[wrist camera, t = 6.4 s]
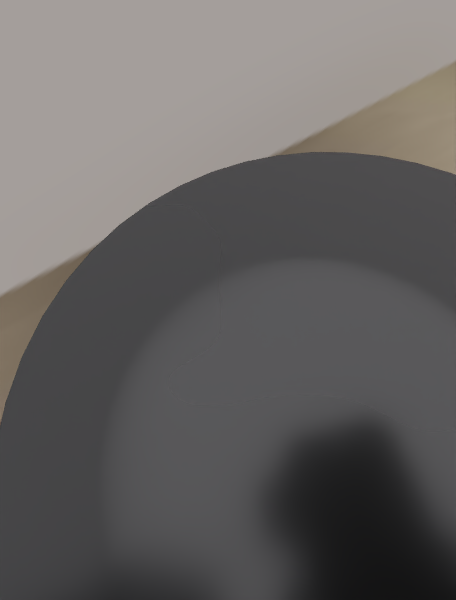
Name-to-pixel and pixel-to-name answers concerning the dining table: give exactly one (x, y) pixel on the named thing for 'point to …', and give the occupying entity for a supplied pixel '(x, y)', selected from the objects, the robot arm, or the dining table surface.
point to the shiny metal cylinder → (246, 396)
